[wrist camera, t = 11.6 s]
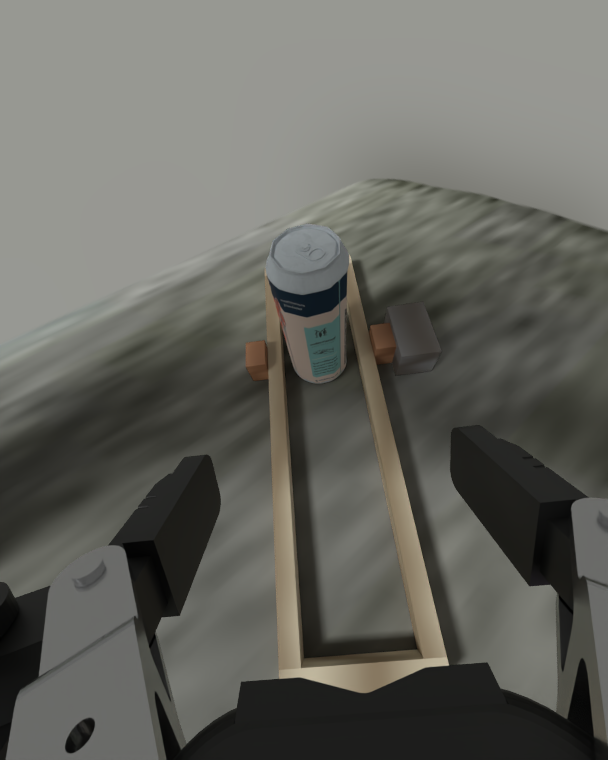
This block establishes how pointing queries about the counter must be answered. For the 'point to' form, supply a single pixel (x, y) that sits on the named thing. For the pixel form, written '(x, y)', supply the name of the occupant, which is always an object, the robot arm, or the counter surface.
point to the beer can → (311, 298)
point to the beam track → (408, 355)
